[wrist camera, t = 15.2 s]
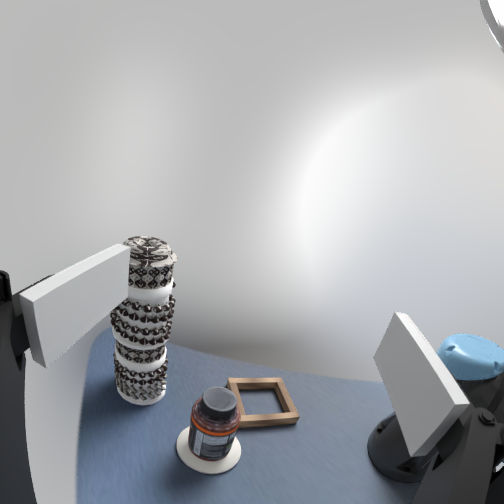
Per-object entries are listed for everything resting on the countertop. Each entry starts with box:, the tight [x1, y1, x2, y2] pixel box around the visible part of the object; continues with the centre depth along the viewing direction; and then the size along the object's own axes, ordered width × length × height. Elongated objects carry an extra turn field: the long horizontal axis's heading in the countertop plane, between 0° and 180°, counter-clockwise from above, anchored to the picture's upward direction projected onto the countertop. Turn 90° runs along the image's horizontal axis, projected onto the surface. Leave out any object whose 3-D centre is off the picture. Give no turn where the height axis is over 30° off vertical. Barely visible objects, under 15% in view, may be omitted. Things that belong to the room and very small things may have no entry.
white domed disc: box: [177, 426, 241, 474], centre depth 32 cm, size 9×9×1 cm
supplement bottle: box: [188, 387, 241, 461], centre depth 30 cm, size 6×6×11 cm
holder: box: [227, 378, 300, 428], centre depth 43 cm, size 10×10×2 cm
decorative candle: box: [110, 236, 178, 405], centre depth 37 cm, size 9×9×25 cm
